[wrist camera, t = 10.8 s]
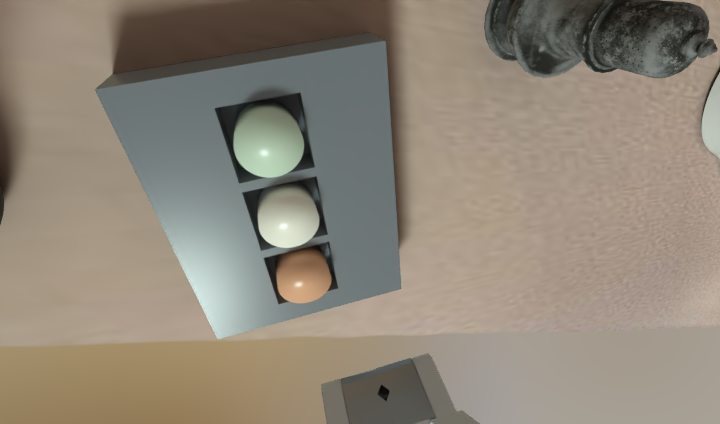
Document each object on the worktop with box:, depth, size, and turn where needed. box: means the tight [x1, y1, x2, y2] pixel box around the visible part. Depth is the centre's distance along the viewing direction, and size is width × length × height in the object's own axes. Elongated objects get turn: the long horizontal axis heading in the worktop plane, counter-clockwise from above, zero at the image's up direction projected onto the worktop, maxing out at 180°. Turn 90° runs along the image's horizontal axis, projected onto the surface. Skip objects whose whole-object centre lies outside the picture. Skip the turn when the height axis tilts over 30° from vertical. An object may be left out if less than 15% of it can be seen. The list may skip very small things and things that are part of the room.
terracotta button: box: [275, 245, 331, 303], centre depth 27 cm, size 4×4×2 cm
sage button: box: [234, 100, 304, 178], centre depth 21 cm, size 4×4×2 cm
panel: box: [95, 32, 401, 339], centre depth 25 cm, size 14×18×3 cm
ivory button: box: [257, 181, 319, 248], centre depth 24 cm, size 4×4×2 cm
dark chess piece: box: [484, 0, 717, 78], centre depth 19 cm, size 6×6×12 cm
